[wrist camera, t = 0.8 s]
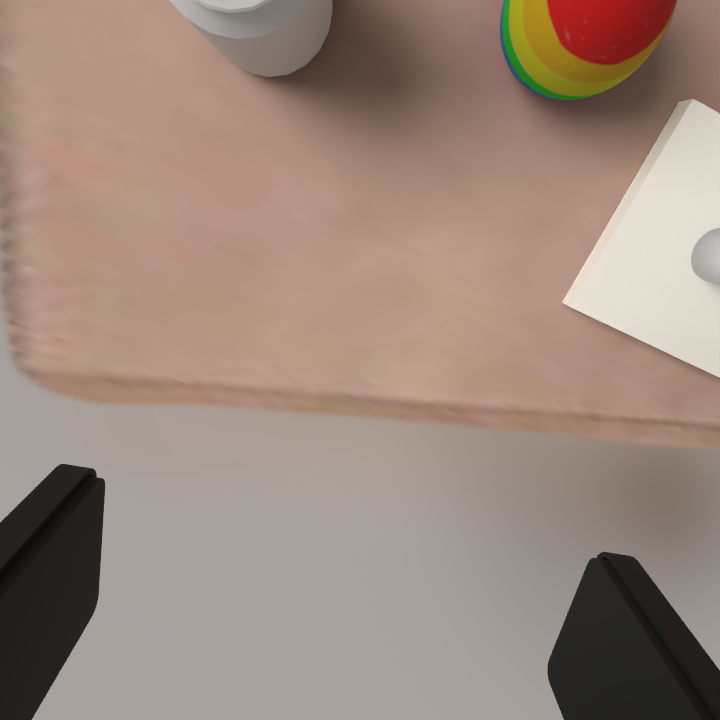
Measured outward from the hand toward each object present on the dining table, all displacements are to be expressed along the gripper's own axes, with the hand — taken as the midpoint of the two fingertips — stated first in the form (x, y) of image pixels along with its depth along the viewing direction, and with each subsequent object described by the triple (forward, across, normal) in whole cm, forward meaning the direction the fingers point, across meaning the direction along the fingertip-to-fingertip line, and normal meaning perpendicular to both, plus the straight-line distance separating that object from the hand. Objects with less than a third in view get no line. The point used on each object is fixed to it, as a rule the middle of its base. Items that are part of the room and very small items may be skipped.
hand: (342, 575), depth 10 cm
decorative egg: (+29, -9, -18) cm, 35 cm away
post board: (+28, -23, -7) cm, 37 cm away
